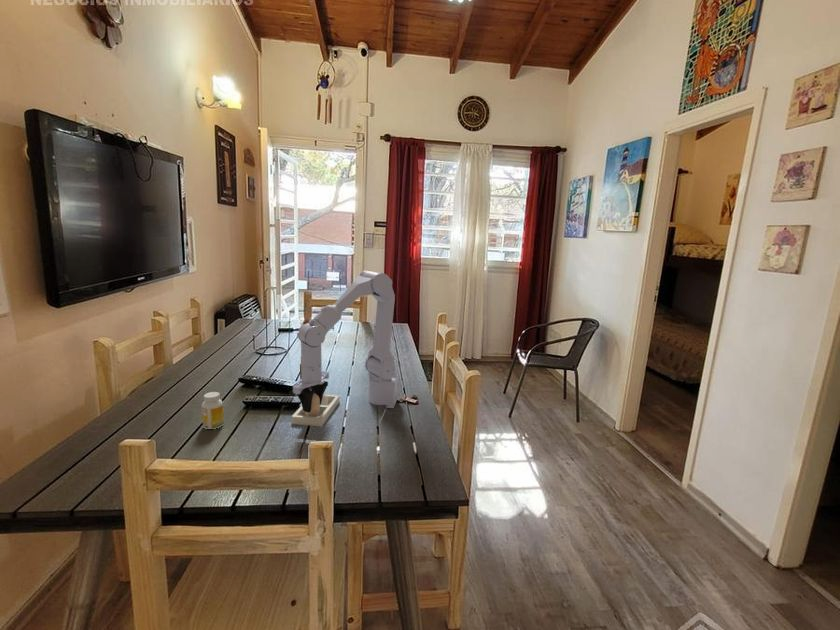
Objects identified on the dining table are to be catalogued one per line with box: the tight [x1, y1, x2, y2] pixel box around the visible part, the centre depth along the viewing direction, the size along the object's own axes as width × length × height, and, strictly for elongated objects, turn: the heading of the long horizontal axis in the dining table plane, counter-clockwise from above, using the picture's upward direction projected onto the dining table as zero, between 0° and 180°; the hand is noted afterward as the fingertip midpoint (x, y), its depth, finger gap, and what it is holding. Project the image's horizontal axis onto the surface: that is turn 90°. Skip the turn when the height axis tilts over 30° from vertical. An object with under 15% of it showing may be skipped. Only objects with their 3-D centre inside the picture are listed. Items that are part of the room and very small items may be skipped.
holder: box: [291, 394, 340, 427], centre depth 127 cm, size 9×17×3 cm, turn 174°
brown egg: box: [305, 393, 320, 417], centre depth 123 cm, size 4×4×7 cm
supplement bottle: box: [201, 391, 225, 430], centre depth 117 cm, size 5×5×10 cm
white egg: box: [321, 393, 328, 406], centre depth 131 cm, size 4×4×4 cm
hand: (312, 408), depth 123 cm, fingers closed on brown egg, 4 cm apart
